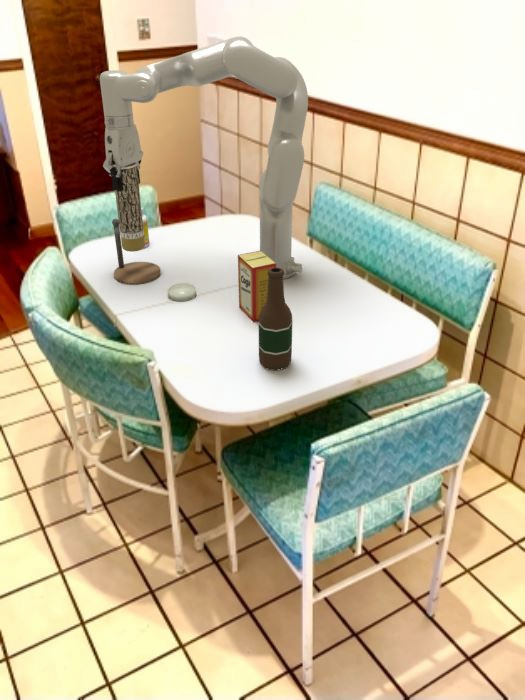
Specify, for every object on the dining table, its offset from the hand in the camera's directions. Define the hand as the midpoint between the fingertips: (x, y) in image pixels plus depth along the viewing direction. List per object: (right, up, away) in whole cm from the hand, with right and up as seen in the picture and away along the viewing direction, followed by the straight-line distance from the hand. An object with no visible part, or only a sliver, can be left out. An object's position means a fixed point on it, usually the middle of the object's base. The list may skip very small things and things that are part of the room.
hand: (126, 186), depth 180 cm
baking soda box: (+37, -36, -7) cm, 52 cm away
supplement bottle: (-3, -11, +34) cm, 36 cm away
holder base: (0, -23, +14) cm, 27 cm away
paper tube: (0, -16, +10) cm, 19 cm away
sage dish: (+15, -31, +2) cm, 34 cm away
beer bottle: (+41, -49, -28) cm, 70 cm away
